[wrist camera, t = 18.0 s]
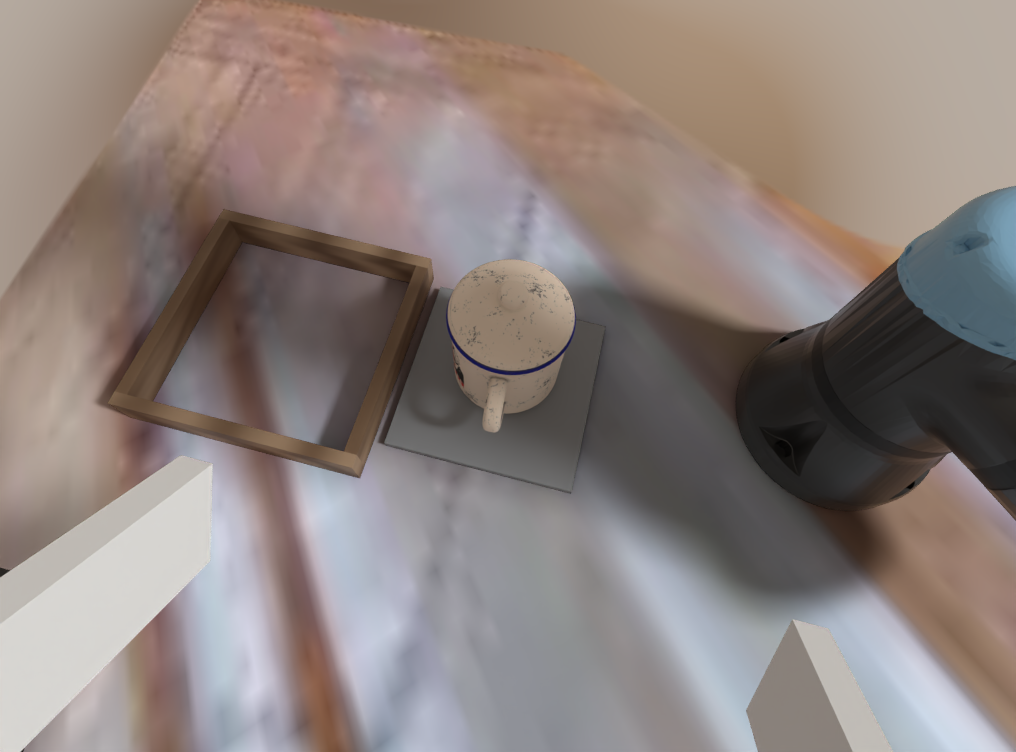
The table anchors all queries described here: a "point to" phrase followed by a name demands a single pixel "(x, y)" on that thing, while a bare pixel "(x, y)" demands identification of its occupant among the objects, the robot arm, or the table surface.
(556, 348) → the teacup with lid
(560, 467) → the rubber mat
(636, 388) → the table surface
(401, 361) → the wooden frame
